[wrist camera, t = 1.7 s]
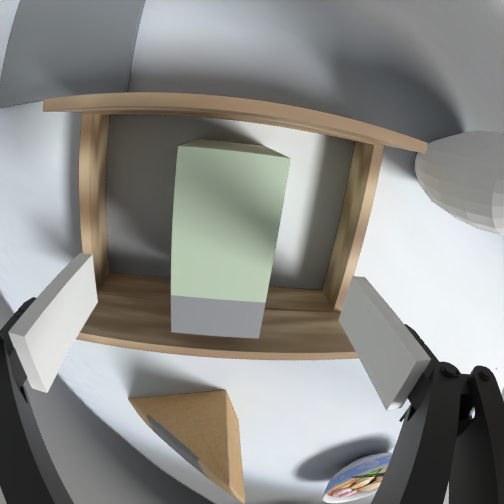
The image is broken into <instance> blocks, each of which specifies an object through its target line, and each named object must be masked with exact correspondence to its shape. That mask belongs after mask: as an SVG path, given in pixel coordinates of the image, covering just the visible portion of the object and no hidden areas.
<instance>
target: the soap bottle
mask: <svg viewBox="0 0 504 504" xmlns="http://www.w3.org/2000/svg"><path fill="white" fill-rule="evenodd" d="M415 172H416V176H417V179H418V182H419V184H420V186H421V187H422V189H423V190H424V191H425V193H426V194H427V195H428V197H429V198H430V199H431V201H432V202H434V203H435V204H437V205H438V206H439V207H441V208H442V209H444V210H445V211H447V212H448V213H450V214H451V215H452V216H454V217H455V218H457V219H459V220H461V221H463V222H465V223H467V224H469V225H471V226H473V227H475V228H477V229H481V230H485V231H488V232H492V233H496V234H499V235H503V236H504V134H503V133H498V132H485V131H473V132H465V133H461V134H457V135H453V136H449V137H445V138H441V139H438V140H435V141H433V142H430V143H428V144H427V150H426V154H423V153H419V152H418V154H417V156H416V160H415Z"/></svg>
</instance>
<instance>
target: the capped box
mask: <svg viewBox="0 0 504 504" xmlns="http://www.w3.org/2000/svg"><path fill="white" fill-rule="evenodd" d="M289 164H290V158H288V157H286V156H284V155H282V154H280V153H278V152H276V151H274V150H272V149H270V148H267V147H265V146H259V145H252V144H243V143H235V142H225V141H215V140H203V139H196V140H193V141H190V142H188V143H185V144H182V145H180V146H178V151H177V162H176V174H175V187H174V202H173V221H172V248H171V332H176V333H186V334H197V335H209V336H223V337H239V338H259V335H260V330H261V324H262V319H263V314H264V309H265V303H266V298H267V292H268V287H269V282H270V276H271V270H272V265H273V259H274V254H275V248H276V242H277V237H278V231H279V225H280V219H281V213H282V207H283V201H284V195H285V189H286V183H287V177H288V171H289Z"/></svg>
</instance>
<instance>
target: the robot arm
mask: <svg viewBox="0 0 504 504" xmlns="http://www.w3.org/2000/svg"><path fill="white" fill-rule="evenodd" d="M97 303H98V299H97V291H96V283H95V274H94V265H93V254H85V253H79V254H78V255H77V256H76V257H75V258H74V259H73V260H72V261H71V262H70V263H69V264H68V265H67V266H66V267H65V268H64V269H63V270H62V271H61V272H60V273H59V274H58V275H57V276H56V278H55V279H54V280H53V281H52V282H51V283H50V284H49V285H48V286H47V287H46V288H45V289H44V291H43V292H42V293H41V294H40V295H39V296H38V297H37V298H34V297H33V298H31V299H29V300H28V301H26V302H24V303H23V305H22V306H21V307H20V308H19V309H18V311H16V313H15V314H14V315H13V317H11V318H10V320H9V321H8V322H7V323H6V324H5V326H4V327H3V328H2V329H1V330H0V486H1V489H2V492H3V494H4V497H5V500H6V503H7V504H74V503H73V501H72V499H71V498H70V496H69V494H68V492H67V490H66V489H65V487H64V485H63V483H62V481H61V479H60V477H59V475H58V473H57V471H56V469H55V466H54V464H53V462H52V460H51V458H50V455H49V453H48V451H47V449H46V446H45V444H44V441H43V439H42V436H41V433H40V431H39V428H38V425H37V423H36V420H35V417H34V414H33V411H32V408H31V405H30V402H29V398H28V395H27V392H26V389H25V387H24V385H23V384H24V382H25V380H26V379H28V381H29V383H30V385H31V387H32V388H34V389H37V390H40V391H43V392H46V393H48V391H49V389H50V387H51V384H52V382H53V381H54V379H55V377H56V375H57V373H58V371H59V369H60V367H61V365H62V363H63V361H64V360H65V358H66V356H67V354H68V352H69V350H70V349H71V347H72V345H73V343H74V341H75V340H76V338H77V336H78V334H79V333H80V331H81V329H82V328H83V326H84V324H85V322H86V321H87V319H88V317H89V316H90V314H91V312H92V311H93V309H94V308H95V306H96V304H97ZM339 322H340V324H341V326H342V327H343V329H344V331H345V333H346V335H347V336H348V338H349V340H350V342H351V344H352V346H353V348H354V349H355V351H356V353H357V355H358V357H359V359H360V361H361V362H362V364H363V366H364V368H365V370H366V372H367V374H368V376H369V378H370V379H371V381H372V383H373V385H374V387H375V389H376V391H377V393H378V395H379V397H380V399H381V401H382V403H383V405H384V407H385V409H386V411H387V410H393V409H398V408H401V407H402V406H403V404H404V403H405V401H406V400H407V398H408V399H409V401H410V403H411V405H410V406H409V408H408V409H407V410H406V412H405V413H404V415H403V416H402V417H401V419H400V421H401V422H402V420H403V419H404V418H405V419H404V422H403V425H402V428H401V431H400V434H399V437H398V440H397V443H396V446H395V449H394V451H393V454H392V457H391V459H390V462H389V464H388V467H387V469H386V472H385V474H384V476H383V479H382V481H381V483H380V486H379V488H378V490H377V492H376V494H375V497H374V499H373V501H372V503H371V504H443V502H444V498H445V494H446V490H447V486H448V481H449V504H504V401H503V398H502V395H501V392H500V389H499V387H498V384H497V381H496V378H495V376H494V374H493V373H492V372H491V371H490V369H488V368H487V367H484V366H476V367H474V369H473V370H472V372H471V374H460V372H459V370H458V369H457V368H456V367H455V366H454V365H452V364H450V363H447V362H439V361H438V359H437V358H436V357H435V356H434V354H433V353H432V352H431V350H430V349H429V348H428V347H427V345H426V344H424V342H423V340H422V339H420V337H419V335H418V334H417V333H416V332H415V330H413V329H412V328H411V327H409V326H408V325H406V324H403V322H402V321H401V320H400V319H399V318H398V316H397V315H396V314H395V313H394V311H393V310H392V309H391V308H390V307H389V305H388V304H387V303H386V302H385V301H384V299H383V298H382V297H381V296H380V295H379V293H378V292H377V291H376V290H375V289H374V287H373V286H372V285H371V284H370V283H369V282H368V280H367V279H366V278H365V277H355V276H352V278H351V282H350V285H349V289H348V292H347V295H346V298H345V301H344V305H343V308H342V311H341V314H340V317H339ZM474 410H475V417H474V418H473V419H472V415H471V414H472V413H473V411H474Z"/></svg>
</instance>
